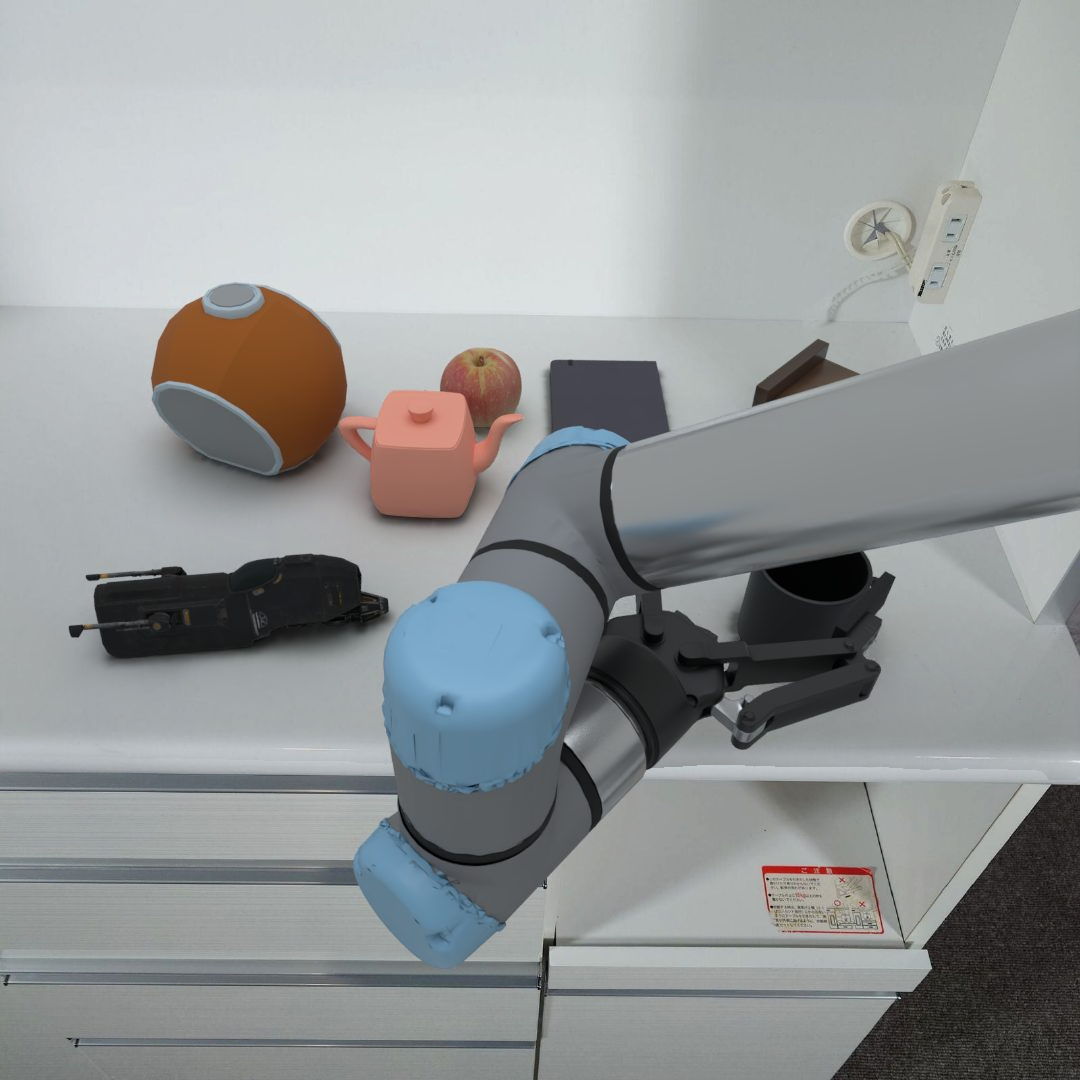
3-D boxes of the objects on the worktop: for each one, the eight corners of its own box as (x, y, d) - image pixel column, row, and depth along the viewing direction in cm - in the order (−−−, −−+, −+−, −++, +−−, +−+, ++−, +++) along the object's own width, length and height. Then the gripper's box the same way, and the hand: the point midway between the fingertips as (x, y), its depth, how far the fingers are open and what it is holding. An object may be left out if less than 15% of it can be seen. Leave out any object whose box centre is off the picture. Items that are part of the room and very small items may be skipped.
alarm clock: (383, 417, 103) (368, 274, 91) (296, 513, 91) (265, 363, 79) (239, 377, 108) (206, 236, 96) (139, 463, 96) (87, 315, 84)
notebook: (676, 486, 96) (654, 371, 111) (678, 474, 95) (656, 360, 110) (554, 485, 95) (549, 370, 111) (554, 473, 94) (549, 358, 110)
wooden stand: (922, 444, 102) (943, 391, 97) (867, 499, 95) (887, 446, 90) (804, 389, 109) (818, 338, 104) (744, 438, 102) (756, 385, 97)
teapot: (356, 449, 99) (345, 366, 91) (524, 457, 99) (526, 374, 91) (335, 521, 90) (321, 437, 83) (519, 530, 90) (520, 446, 83)
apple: (519, 443, 100) (519, 381, 95) (437, 439, 100) (433, 377, 95) (523, 397, 106) (524, 336, 101) (446, 393, 107) (443, 333, 101)
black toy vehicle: (107, 611, 82) (75, 546, 76) (389, 588, 84) (378, 522, 78) (89, 672, 77) (53, 607, 72) (389, 646, 79) (377, 580, 74)
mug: (888, 673, 79) (922, 601, 72) (750, 678, 78) (772, 606, 72) (853, 592, 85) (881, 520, 79) (726, 596, 85) (744, 524, 78)
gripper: (449, 647, 61) (646, 495, 72) (775, 900, 49) (946, 670, 61) (445, 567, 55) (657, 418, 67) (808, 829, 44) (989, 593, 55)
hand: (795, 537), depth 64 cm, fingers open, 13 cm apart
